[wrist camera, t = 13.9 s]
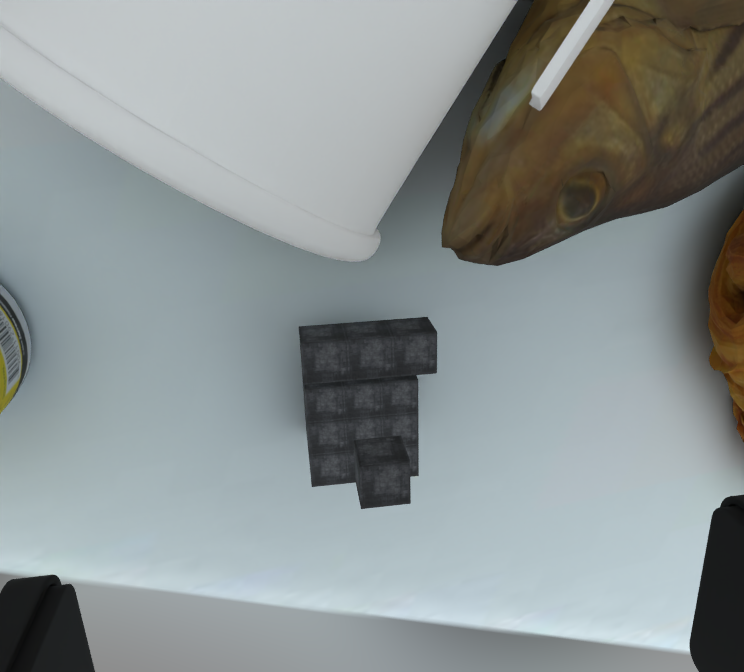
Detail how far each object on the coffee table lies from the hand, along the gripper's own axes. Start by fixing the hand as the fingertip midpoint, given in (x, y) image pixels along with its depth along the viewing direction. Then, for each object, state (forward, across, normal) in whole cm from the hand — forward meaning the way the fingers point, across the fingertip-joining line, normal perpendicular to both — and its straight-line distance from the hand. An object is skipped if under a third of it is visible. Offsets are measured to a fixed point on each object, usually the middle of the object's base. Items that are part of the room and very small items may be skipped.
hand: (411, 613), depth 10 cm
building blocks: (+12, 0, +1) cm, 12 cm away
